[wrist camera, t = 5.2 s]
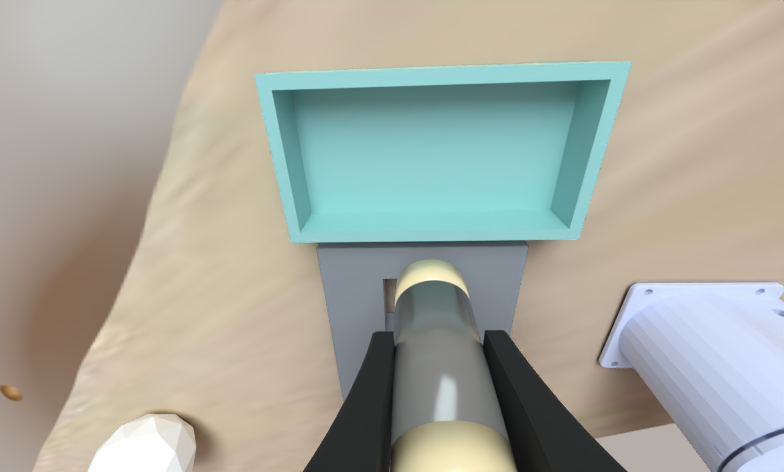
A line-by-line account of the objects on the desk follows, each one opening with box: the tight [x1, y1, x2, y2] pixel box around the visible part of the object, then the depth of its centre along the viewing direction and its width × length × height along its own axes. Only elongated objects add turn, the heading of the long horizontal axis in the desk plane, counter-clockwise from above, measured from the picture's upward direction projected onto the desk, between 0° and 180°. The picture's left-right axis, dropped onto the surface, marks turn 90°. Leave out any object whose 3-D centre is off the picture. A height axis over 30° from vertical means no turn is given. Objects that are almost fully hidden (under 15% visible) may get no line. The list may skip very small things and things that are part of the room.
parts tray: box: [254, 61, 632, 243], centre depth 16 cm, size 15×8×3 cm, turn 92°
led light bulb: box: [390, 259, 518, 472], centre depth 10 cm, size 3×3×8 cm
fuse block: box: [317, 240, 529, 402], centre depth 23 cm, size 12×18×2 cm, turn 2°
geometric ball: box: [87, 414, 196, 472], centre depth 28 cm, size 8×8×8 cm
